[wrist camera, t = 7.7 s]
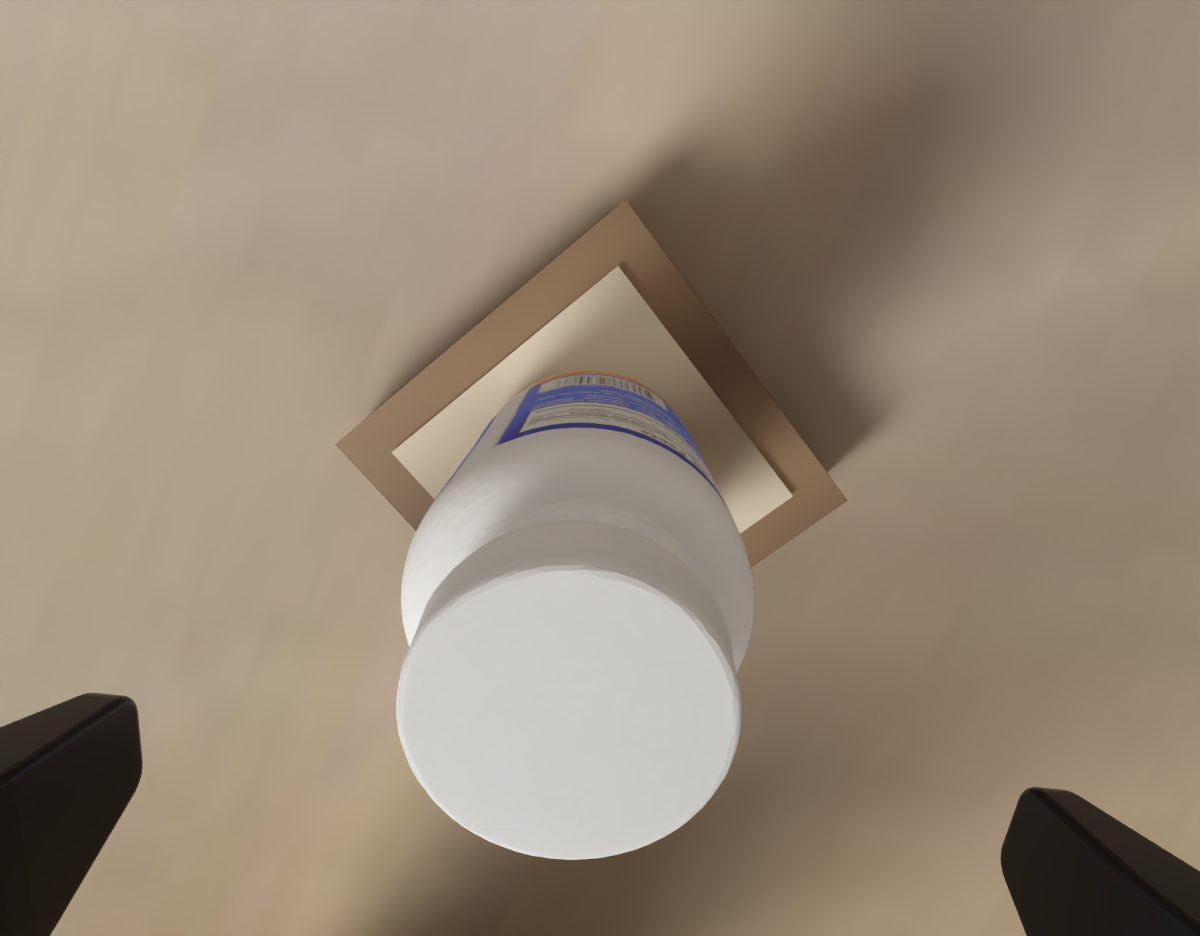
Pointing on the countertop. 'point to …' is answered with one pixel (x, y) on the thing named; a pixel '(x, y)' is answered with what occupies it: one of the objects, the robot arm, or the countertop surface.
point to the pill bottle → (575, 625)
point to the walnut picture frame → (612, 344)
